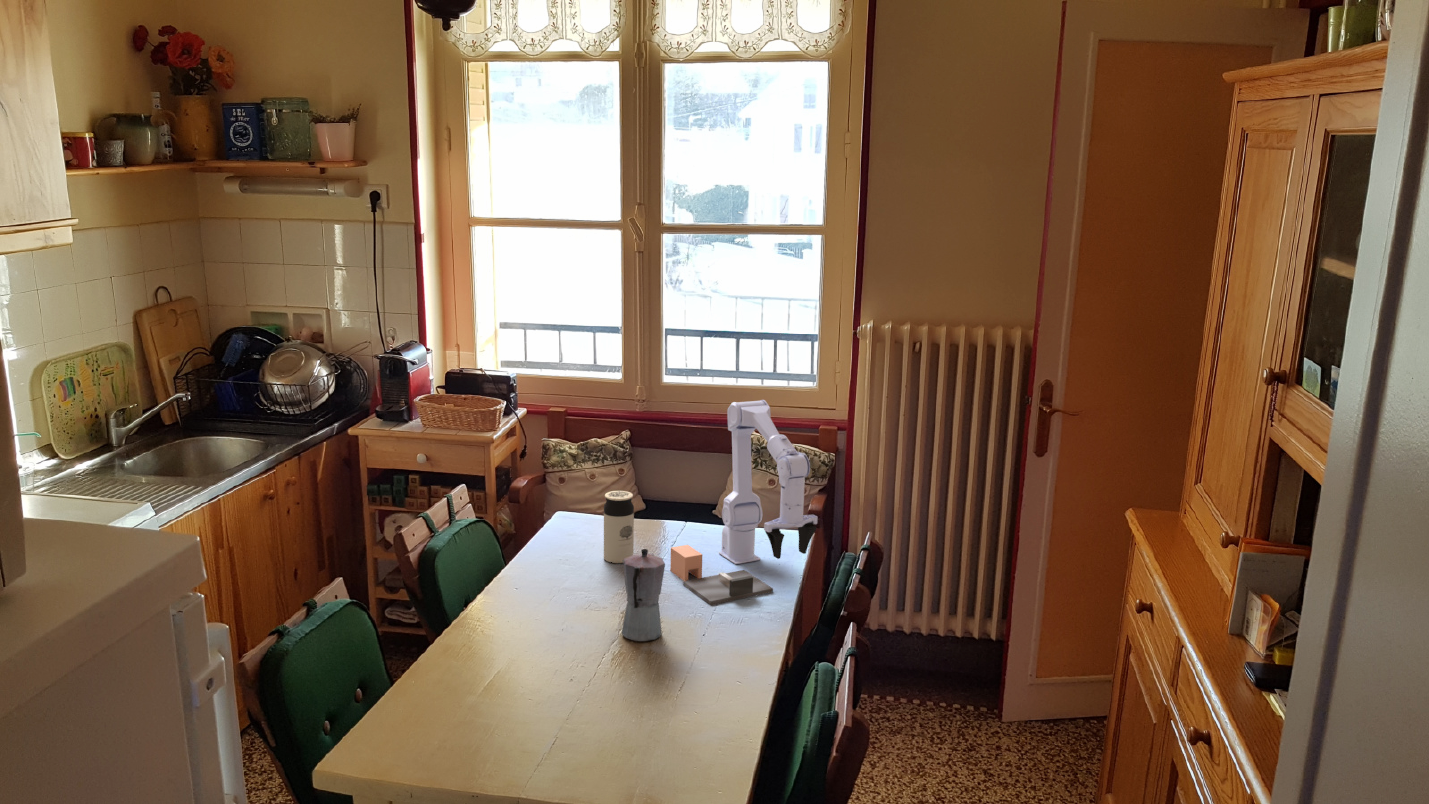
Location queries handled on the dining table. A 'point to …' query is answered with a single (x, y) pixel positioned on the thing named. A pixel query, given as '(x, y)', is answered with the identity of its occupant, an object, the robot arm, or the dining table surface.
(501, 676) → the dining table surface
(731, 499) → the robot arm
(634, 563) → the moka pot
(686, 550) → the slotted block
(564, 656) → the dining table surface
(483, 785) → the dining table surface
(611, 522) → the travel mug
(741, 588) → the rail board
